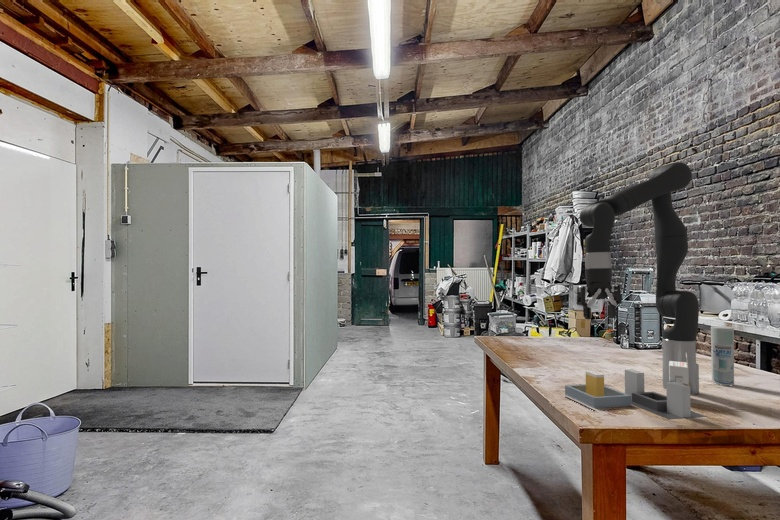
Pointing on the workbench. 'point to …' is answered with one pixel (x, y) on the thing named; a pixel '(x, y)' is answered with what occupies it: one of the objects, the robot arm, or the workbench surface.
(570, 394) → the tray
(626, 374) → the fuse block
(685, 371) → the ink cartridge box
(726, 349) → the spray can
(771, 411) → the workbench surface
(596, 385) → the block
